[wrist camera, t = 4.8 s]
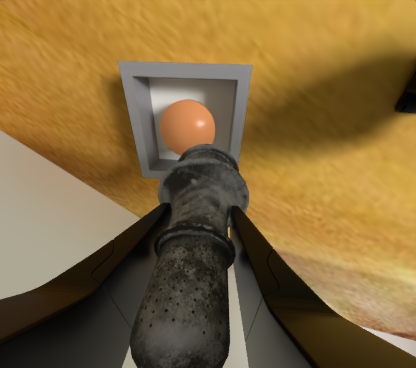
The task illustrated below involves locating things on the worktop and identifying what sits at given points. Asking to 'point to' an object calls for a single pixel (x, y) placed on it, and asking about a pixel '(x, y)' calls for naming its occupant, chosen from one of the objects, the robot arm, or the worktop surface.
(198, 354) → the salt shaker
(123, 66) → the grey square tray
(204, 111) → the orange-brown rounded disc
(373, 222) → the worktop surface
